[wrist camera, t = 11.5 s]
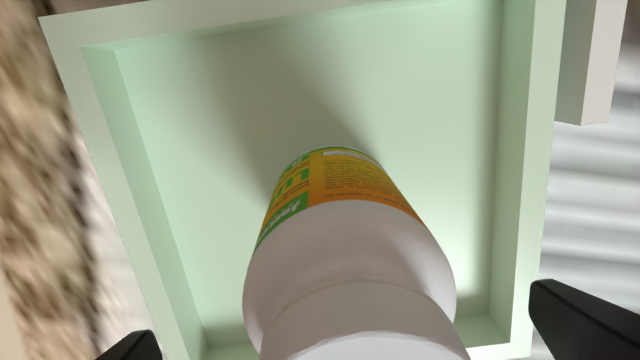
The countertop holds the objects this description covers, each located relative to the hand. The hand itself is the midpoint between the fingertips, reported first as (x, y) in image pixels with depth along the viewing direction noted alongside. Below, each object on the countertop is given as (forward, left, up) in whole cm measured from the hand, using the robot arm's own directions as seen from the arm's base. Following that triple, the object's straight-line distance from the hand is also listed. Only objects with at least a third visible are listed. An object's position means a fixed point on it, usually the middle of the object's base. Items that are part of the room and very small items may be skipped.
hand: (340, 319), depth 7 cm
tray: (0, 0, -8) cm, 8 cm away
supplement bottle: (0, 0, -8) cm, 8 cm away
